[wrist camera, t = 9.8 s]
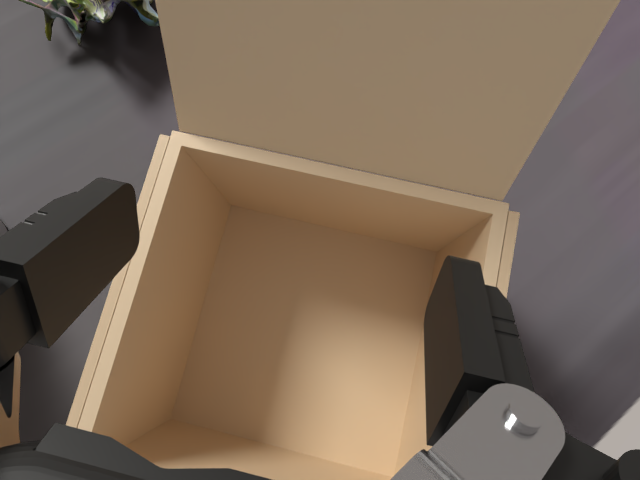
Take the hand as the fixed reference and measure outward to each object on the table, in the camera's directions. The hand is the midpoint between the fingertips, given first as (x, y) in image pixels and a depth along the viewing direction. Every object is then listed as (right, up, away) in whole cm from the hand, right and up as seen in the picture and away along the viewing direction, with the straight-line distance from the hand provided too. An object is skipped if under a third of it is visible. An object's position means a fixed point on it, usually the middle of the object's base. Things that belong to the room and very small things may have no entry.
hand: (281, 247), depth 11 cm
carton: (0, -8, +26) cm, 27 cm away
